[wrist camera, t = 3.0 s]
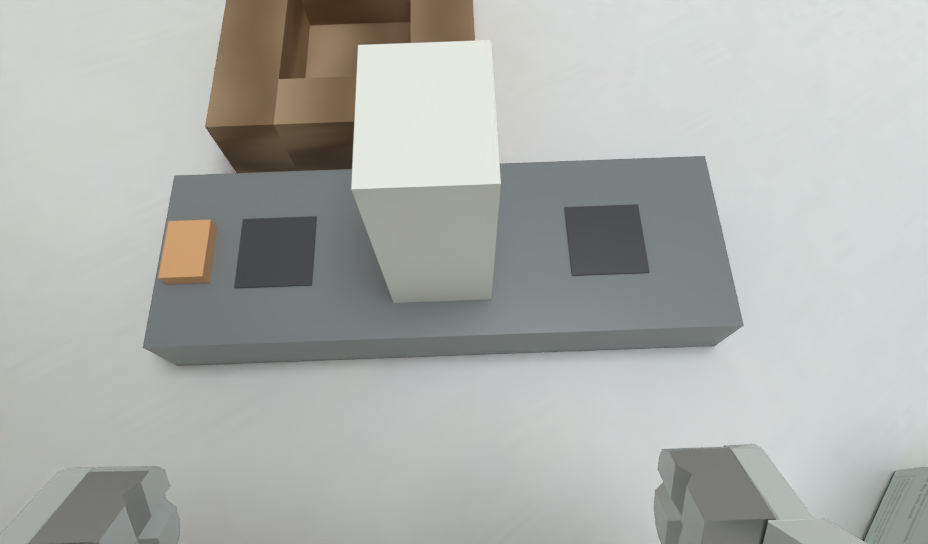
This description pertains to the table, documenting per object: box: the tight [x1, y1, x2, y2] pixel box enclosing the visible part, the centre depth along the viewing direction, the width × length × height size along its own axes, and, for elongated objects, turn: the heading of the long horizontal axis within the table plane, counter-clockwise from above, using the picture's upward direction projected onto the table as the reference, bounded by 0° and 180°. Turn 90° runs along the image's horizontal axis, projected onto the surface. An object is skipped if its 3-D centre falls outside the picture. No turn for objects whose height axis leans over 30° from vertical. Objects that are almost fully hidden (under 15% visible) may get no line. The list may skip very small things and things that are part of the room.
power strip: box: [143, 156, 743, 366], centre depth 26 cm, size 24×8×4 cm, turn 92°
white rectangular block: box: [351, 40, 501, 303], centre depth 22 cm, size 4×5×11 cm
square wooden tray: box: [205, 0, 475, 173], centre depth 30 cm, size 12×12×4 cm
